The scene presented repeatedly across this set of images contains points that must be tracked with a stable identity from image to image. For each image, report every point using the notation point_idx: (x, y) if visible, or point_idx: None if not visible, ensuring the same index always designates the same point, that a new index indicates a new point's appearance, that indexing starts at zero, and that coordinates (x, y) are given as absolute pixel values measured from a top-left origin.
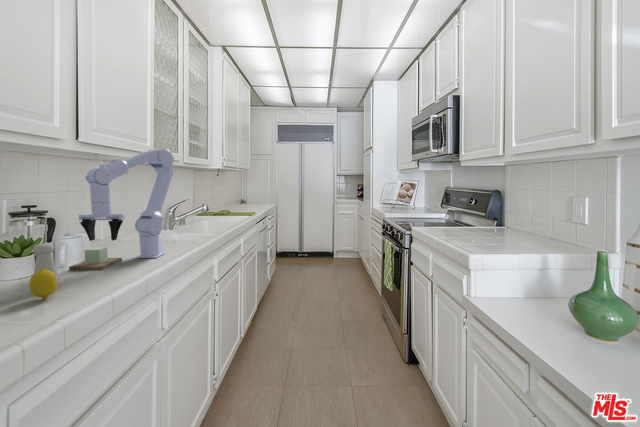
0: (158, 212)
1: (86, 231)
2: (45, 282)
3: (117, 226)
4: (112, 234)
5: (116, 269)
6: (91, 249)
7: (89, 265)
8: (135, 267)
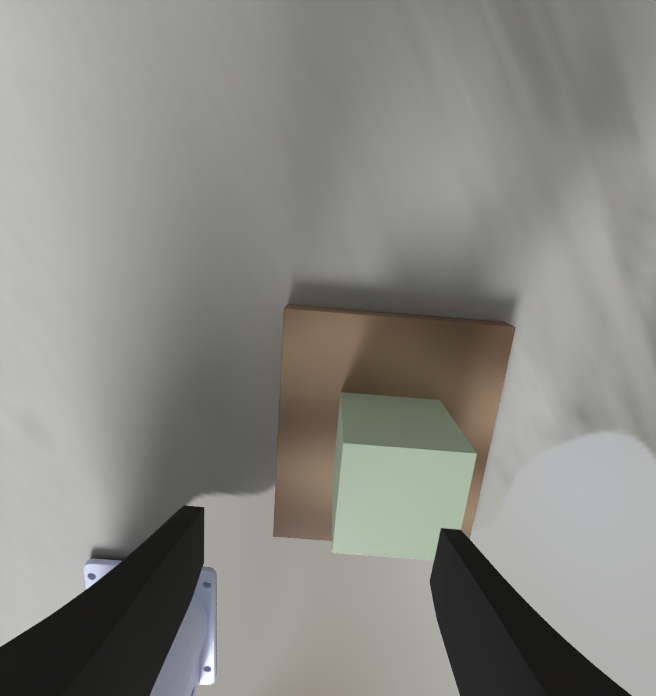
0: None
1: (544, 628)
2: None
3: None
4: (147, 553)
5: (199, 298)
6: (422, 468)
7: (390, 348)
8: (97, 334)
